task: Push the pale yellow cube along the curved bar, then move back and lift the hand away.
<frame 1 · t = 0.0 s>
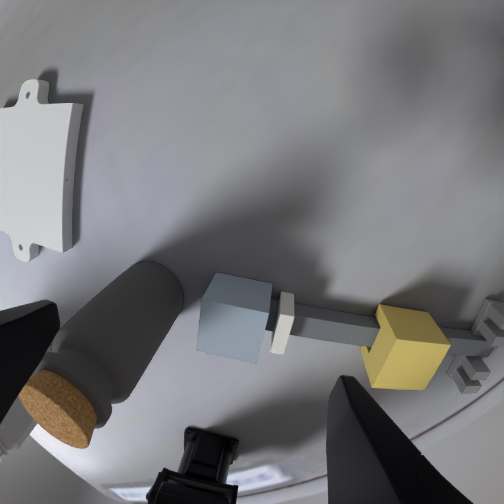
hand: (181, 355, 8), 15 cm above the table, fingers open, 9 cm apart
bottle: (153, 291, 25), on the table
jar: (44, 356, 31), on the table
mounting plate: (33, 170, 23), on the table
pale yellow cube: (403, 348, 21), point 3 cm above the table, slide at 0.0 cm
grey boxy piece: (475, 339, 23), on the table
curved bar: (374, 326, 23), on the table
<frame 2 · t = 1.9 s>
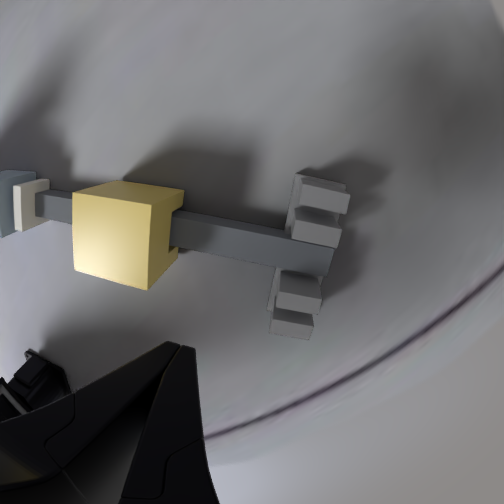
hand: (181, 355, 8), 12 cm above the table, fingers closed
pale yellow cube: (128, 228, 17), point 3 cm above the table, slide at 0.0 cm
grey boxy piece: (304, 248, 19), on the table
curved bar: (123, 213, 19), on the table
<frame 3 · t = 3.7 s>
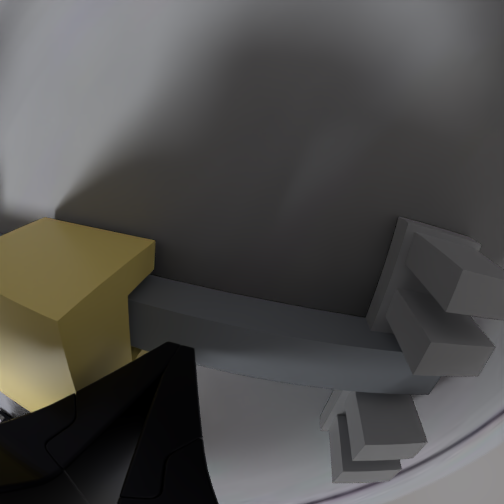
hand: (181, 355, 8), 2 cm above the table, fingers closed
pale yellow cube: (56, 318, 8), point 3 cm above the table, slide at 0.7 cm, touching gripper
grey boxy piece: (392, 343, 10), on the table
curved bar: (74, 275, 10), on the table
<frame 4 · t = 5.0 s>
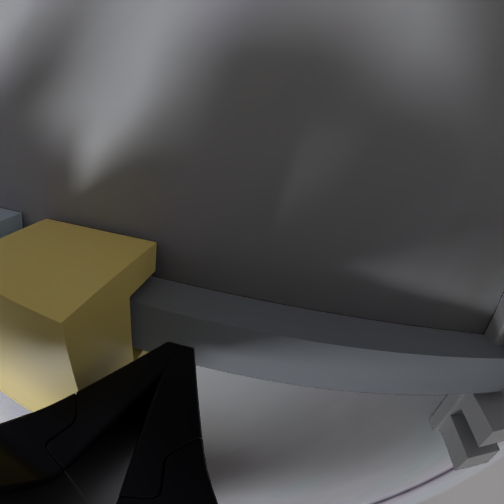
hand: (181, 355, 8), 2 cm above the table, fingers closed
pale yellow cube: (58, 319, 8), point 3 cm above the table, slide at 6.8 cm, touching gripper
grey boxy piece: (494, 352, 10), on the table
curved bar: (220, 315, 10), on the table
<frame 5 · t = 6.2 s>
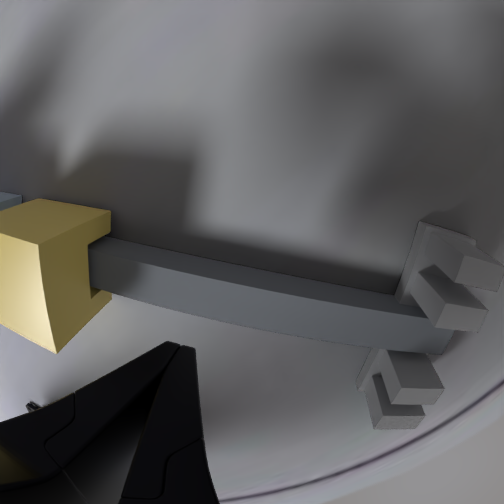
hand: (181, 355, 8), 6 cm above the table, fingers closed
pale yellow cube: (41, 265, 11), point 3 cm above the table, slide at 6.8 cm
grey boxy piece: (413, 316, 13), on the table
curved bar: (156, 265, 13), on the table
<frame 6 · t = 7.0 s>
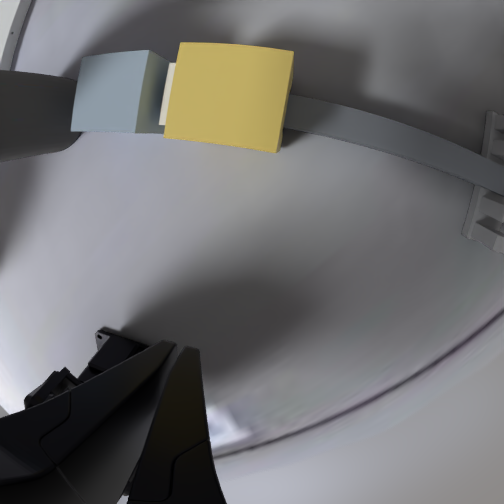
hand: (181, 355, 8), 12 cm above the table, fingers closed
bottle: (61, 114, 17), on the table
pale yellow cube: (236, 100, 13), point 3 cm above the table, slide at 6.8 cm
grey boxy piece: (491, 178, 15), on the table
curved bar: (326, 121, 16), on the table
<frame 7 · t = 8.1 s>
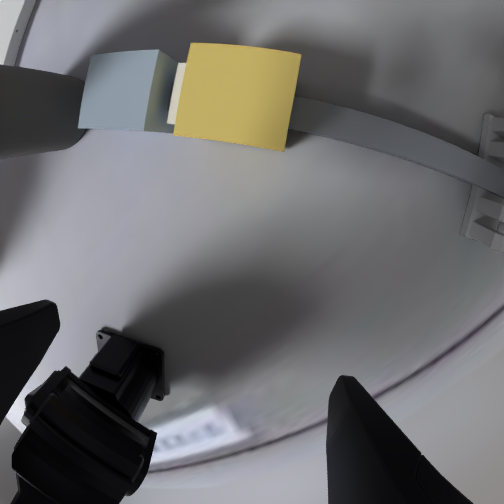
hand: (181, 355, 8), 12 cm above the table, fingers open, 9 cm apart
bottle: (66, 113, 18), on the table
pale yellow cube: (243, 100, 14), point 3 cm above the table, slide at 6.8 cm
grey boxy piece: (488, 179, 16), on the table
curved bar: (329, 123, 16), on the table
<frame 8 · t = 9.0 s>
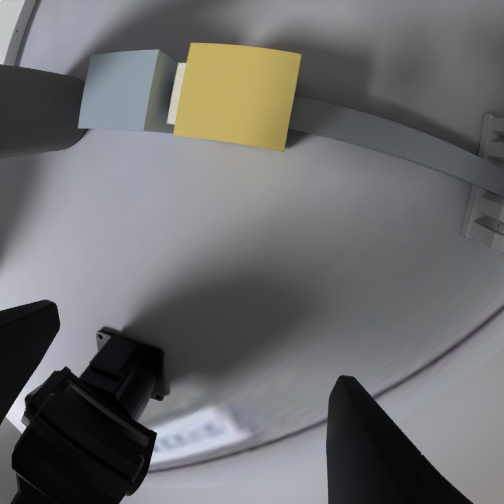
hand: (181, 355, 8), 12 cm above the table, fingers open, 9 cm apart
bottle: (66, 113, 18), on the table
pale yellow cube: (243, 100, 14), point 3 cm above the table, slide at 6.8 cm
grey boxy piece: (488, 179, 16), on the table
curved bar: (329, 123, 16), on the table
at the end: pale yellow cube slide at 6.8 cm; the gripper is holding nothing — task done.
